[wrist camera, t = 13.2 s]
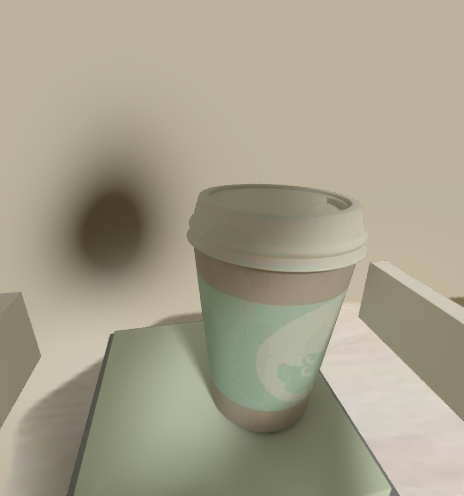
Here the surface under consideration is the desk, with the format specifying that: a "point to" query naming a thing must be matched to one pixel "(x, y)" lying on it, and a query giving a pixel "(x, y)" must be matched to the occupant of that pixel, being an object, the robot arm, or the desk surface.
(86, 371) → the desk surface
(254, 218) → the coffee cup
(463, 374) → the robot arm
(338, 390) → the desk surface
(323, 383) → the block
